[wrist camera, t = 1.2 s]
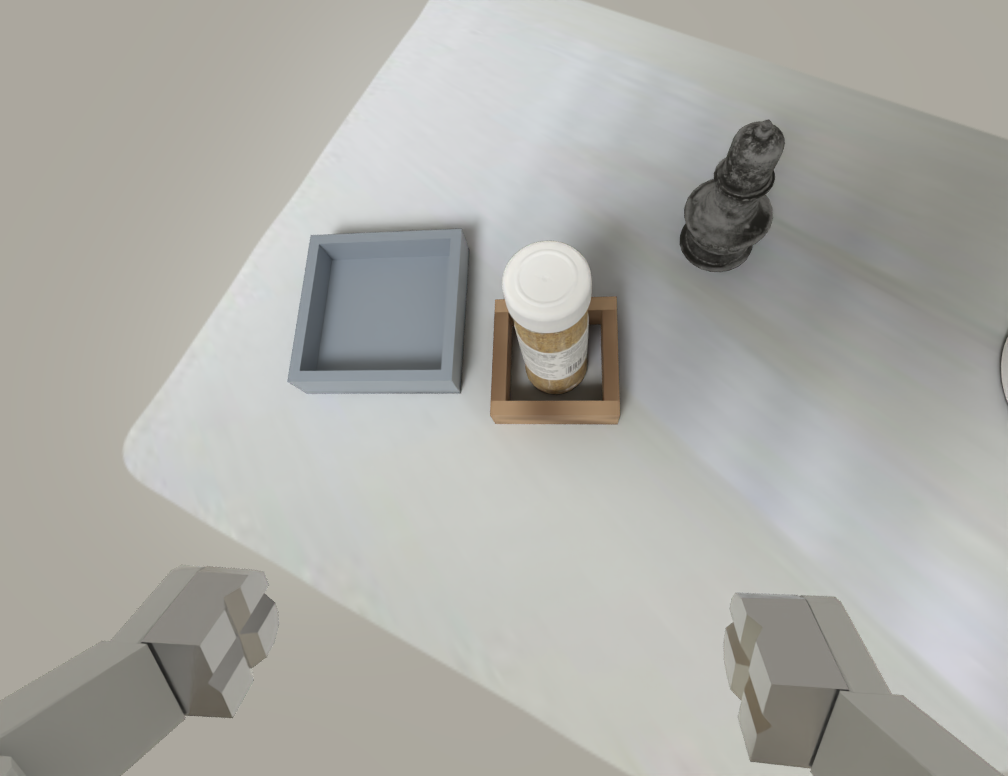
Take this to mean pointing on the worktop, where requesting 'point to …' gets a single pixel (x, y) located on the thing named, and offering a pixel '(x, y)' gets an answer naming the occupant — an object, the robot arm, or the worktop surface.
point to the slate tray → (382, 313)
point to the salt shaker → (733, 201)
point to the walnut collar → (556, 411)
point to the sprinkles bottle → (550, 312)
